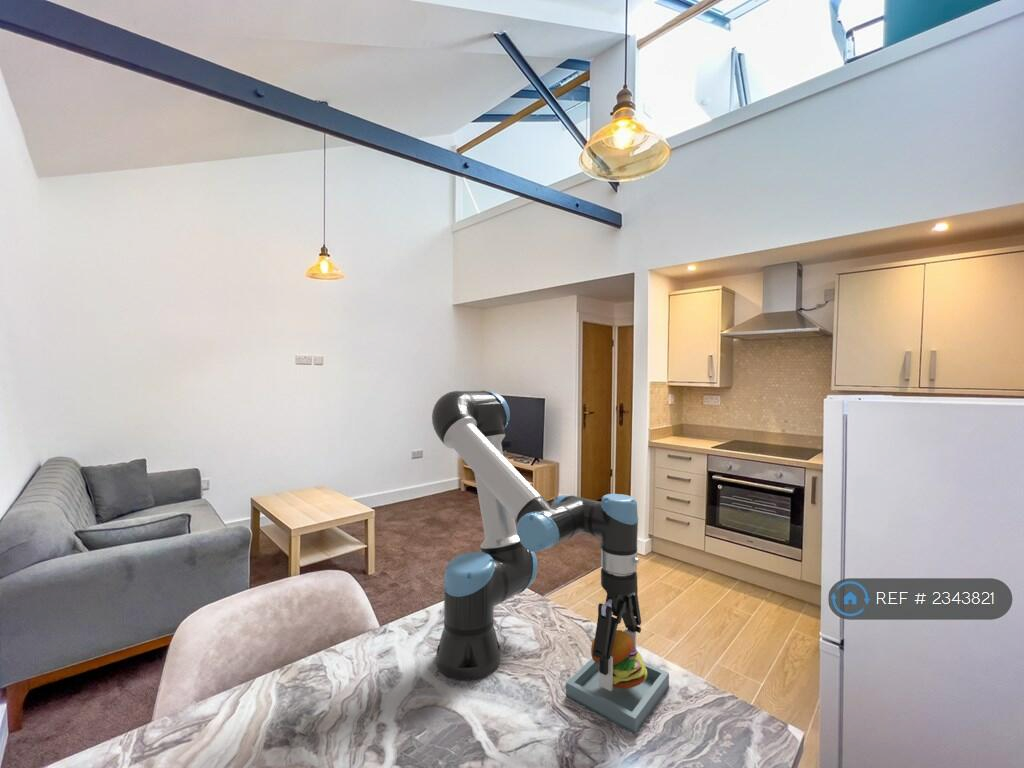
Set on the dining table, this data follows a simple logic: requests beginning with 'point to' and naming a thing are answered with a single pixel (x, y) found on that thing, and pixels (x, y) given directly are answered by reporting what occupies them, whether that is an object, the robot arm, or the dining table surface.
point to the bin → (618, 696)
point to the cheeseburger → (625, 662)
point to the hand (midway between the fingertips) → (618, 673)
